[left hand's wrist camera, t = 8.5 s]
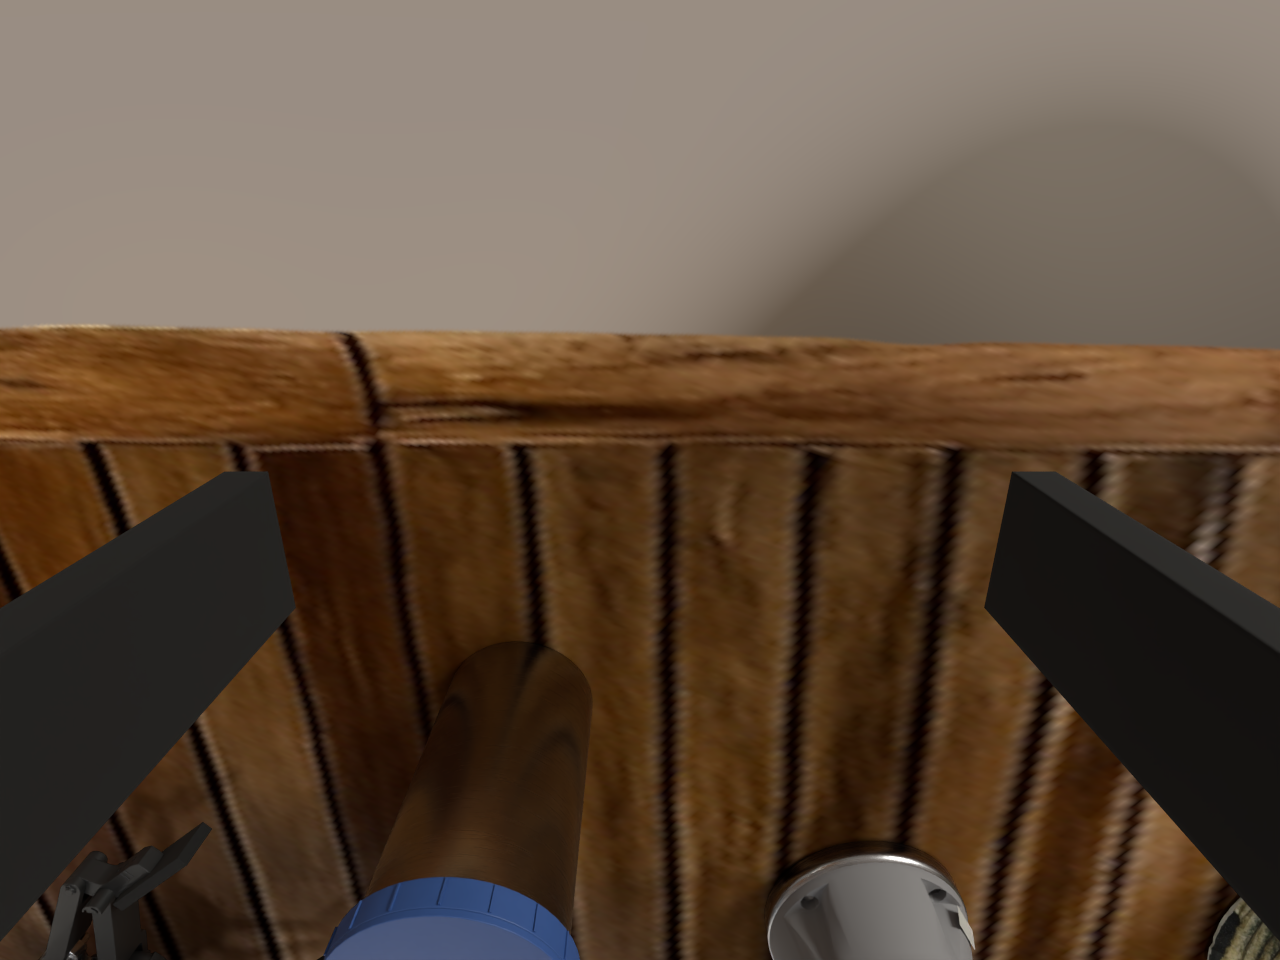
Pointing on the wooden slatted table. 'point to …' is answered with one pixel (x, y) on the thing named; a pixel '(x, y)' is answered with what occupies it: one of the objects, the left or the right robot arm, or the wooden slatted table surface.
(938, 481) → the wooden slatted table surface
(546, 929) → the lid
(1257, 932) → the fossil
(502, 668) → the jar
